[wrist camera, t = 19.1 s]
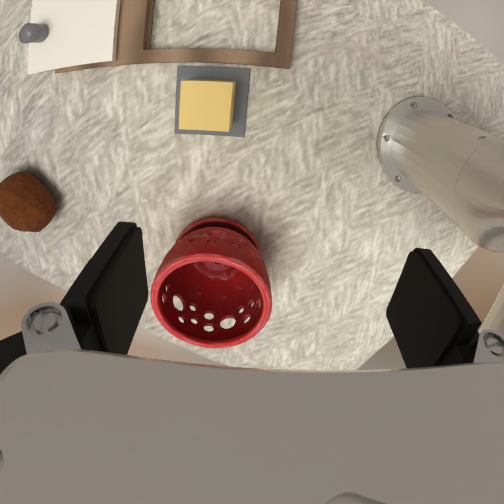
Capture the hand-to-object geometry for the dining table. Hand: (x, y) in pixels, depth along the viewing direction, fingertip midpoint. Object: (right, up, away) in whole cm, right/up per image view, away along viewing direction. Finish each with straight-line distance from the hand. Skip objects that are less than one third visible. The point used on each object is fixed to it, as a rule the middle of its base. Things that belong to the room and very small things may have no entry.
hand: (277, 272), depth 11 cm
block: (-5, +17, +22) cm, 29 cm away
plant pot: (-5, +1, +33) cm, 34 cm away
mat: (-5, +18, +22) cm, 29 cm away
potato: (-32, +9, +28) cm, 44 cm away
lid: (-21, +26, +14) cm, 36 cm away
